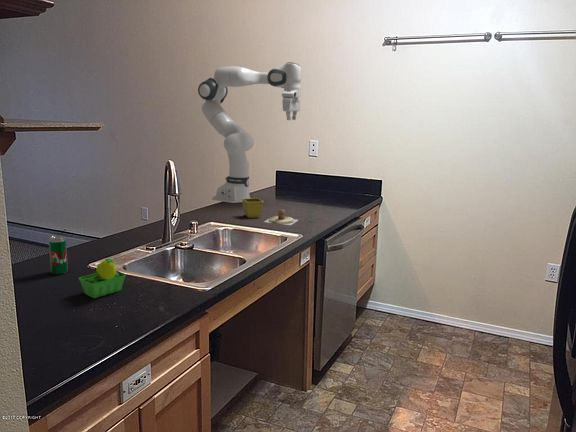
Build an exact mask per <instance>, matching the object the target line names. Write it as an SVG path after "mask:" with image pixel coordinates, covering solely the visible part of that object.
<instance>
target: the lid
mask: <svg viewBox="0 0 576 432" xmlns="http://www.w3.org/2000/svg"><path fill="white" fill-rule="evenodd" d="M277 211H278V212H277V214H278V215H275V216H271V217H270V216H269V218H268V219H269V221H270V222H272V223H271V224H275V223H277V225H284V224H289V223H292V222H294V218H293V217H290V216H285V215H286V209H284V208H279V209H278V210H277Z"/></svg>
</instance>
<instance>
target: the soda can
mask: <svg viewBox="0 0 576 432" xmlns="http://www.w3.org/2000/svg"><path fill="white" fill-rule="evenodd" d="M67 247H68V246H67V239H66V238H65V236H64V235H53V236H50V237H49V240H48V249H49V260H50V261H49V263H50V273H51V274H52V275H55V276H56V275H58V276H60V275H65V274H67V272H68V271H69V266H68V265H69V264H68V250H67V249H68V248H67Z"/></svg>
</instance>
